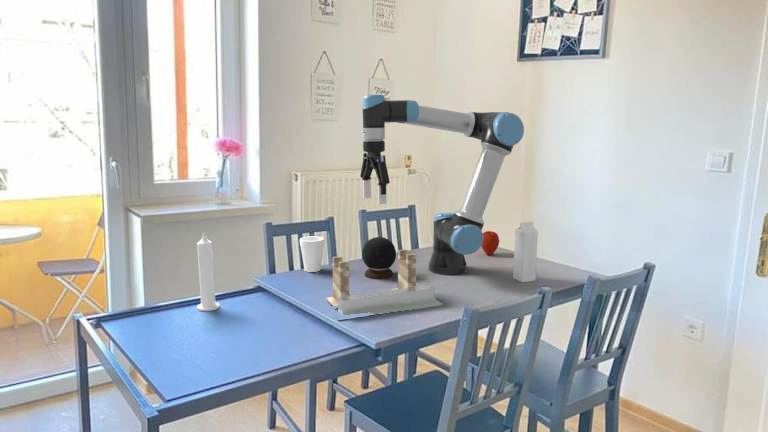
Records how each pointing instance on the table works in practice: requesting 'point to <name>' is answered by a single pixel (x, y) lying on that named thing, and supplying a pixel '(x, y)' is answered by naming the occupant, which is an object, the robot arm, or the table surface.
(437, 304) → the mat
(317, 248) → the foam cup
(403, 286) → the cradle posts
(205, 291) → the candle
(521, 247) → the milk
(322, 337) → the table surface
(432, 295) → the rail
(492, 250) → the apple
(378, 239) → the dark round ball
